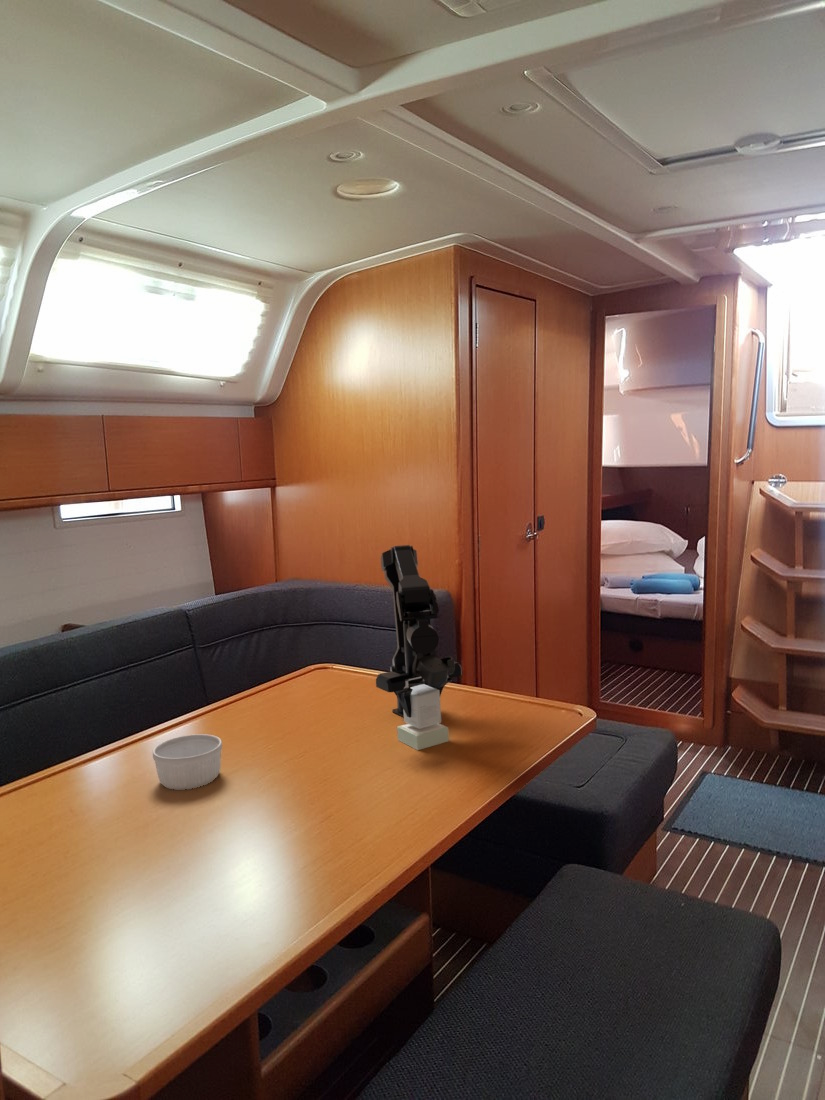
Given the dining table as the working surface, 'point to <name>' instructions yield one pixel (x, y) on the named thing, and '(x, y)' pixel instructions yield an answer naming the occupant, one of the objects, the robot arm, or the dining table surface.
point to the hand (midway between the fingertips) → (421, 713)
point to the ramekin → (188, 761)
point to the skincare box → (424, 707)
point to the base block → (422, 735)
